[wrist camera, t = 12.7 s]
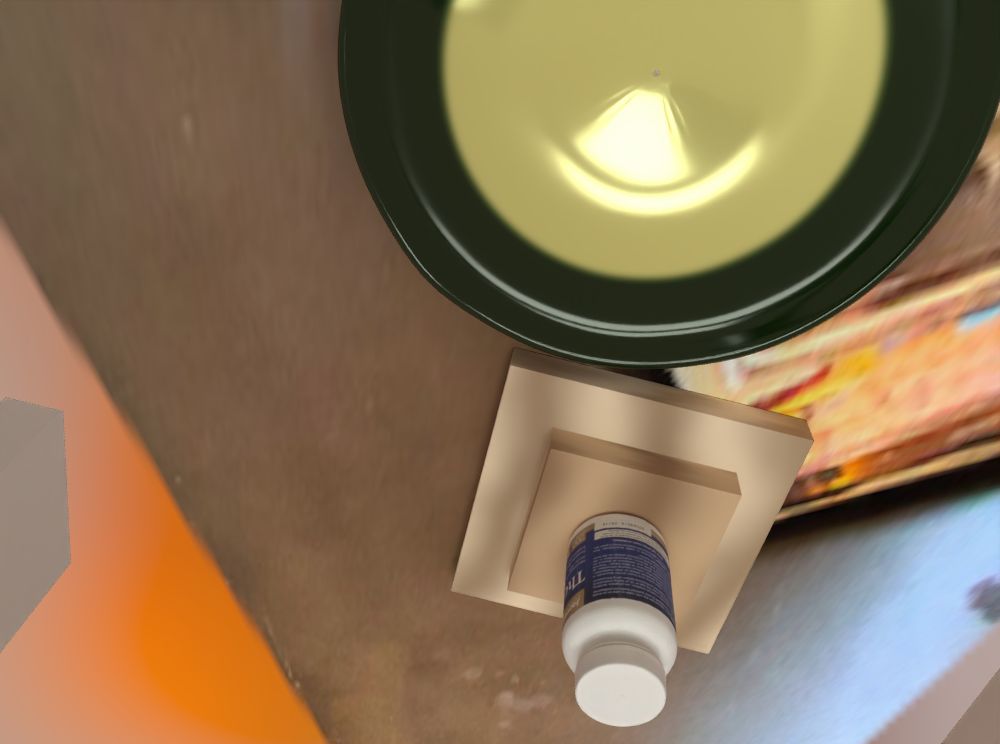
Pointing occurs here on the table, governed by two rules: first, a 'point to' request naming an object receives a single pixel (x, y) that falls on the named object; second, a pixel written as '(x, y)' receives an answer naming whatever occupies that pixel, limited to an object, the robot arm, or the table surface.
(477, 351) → the table surface
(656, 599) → the pill bottle
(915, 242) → the plate
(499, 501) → the base
